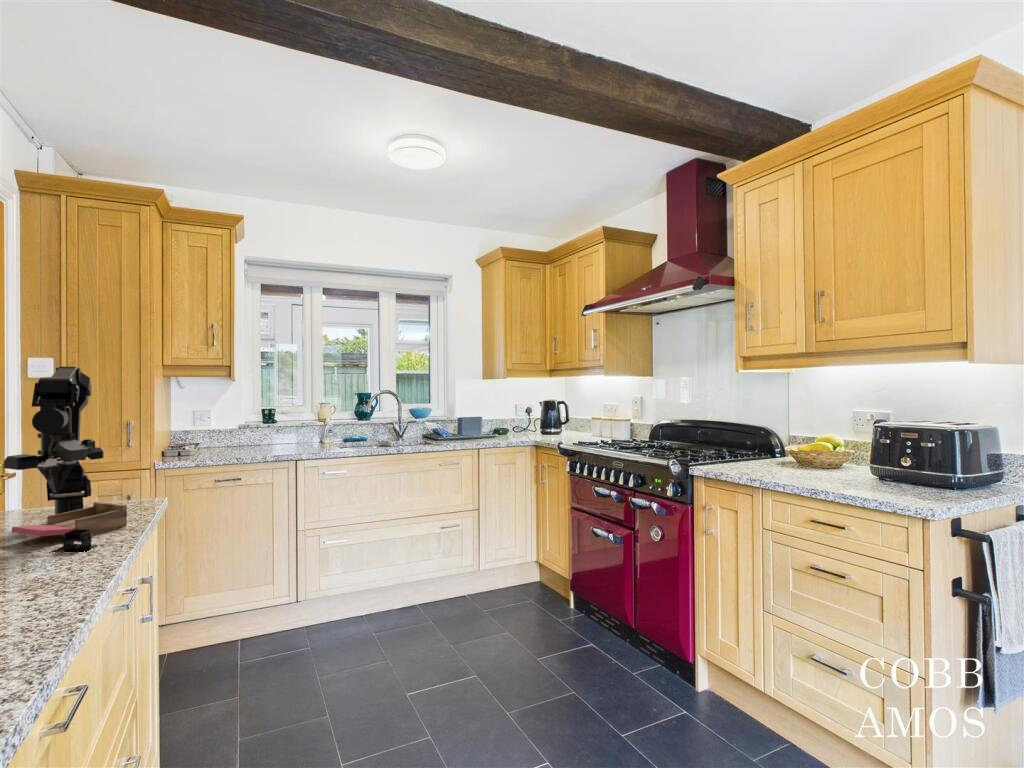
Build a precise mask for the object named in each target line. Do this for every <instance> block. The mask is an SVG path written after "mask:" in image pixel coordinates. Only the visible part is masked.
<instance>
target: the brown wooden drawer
mask: <svg viewBox="0 0 1024 768" xmlns="http://www.w3.org/2000/svg"><path fill="white" fill-rule="evenodd" d="M92 505H93V506H88V507H84V508H83V509H79V510H74V511H69V512H65V513H60V514H55V513H54V514H52V515H48V516H47V519H46V520H47V521H46V522H47V524H46V525H54V526H61V527H68V528H75V530H90V534H94V535H96V534H95V533H98V534H100V533H99V532H101V533H103V532H102V531H105V532H108V531H107V530H109V531H111V530H110V529H113V530H115V529H114V528H117V529H119V528H118V527H120V528H123V527H122V526H124V527H127V526H126V525H128V522H127V521H128V514H127V513H128V511H127V510H128V509H127V508H128V507H127V505H126V504H119V503H111V502H102V501H95V502H93V504H92ZM64 536H65V534H62V535H60V536H59V537H64Z"/></svg>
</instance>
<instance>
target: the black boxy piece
mask: <svg viewBox="0 0 1024 768" xmlns="http://www.w3.org/2000/svg"><path fill="white" fill-rule="evenodd" d="M62 537H63V538H62V540H63V541H62V542H63V543H62V546H60V547H61V548H60V547H59V549H58V548H56V549H57V550H55V549H53V550H54V551H53V550H51V552H52V553H51V552H50V551H48V552H49V553H48V554H56V553H57V554H63V553H62V552H84V551H85V552H87V551H89V550H91V549H92V548H94V547H97V546H98V545H99V544H92V535H91V534H90V530H72V531H70V532H67V533H65V537H64V536H62ZM75 542H77V543H75ZM53 552H55V553H53ZM59 552H60V553H59Z"/></svg>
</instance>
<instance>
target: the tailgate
mask: <svg viewBox="0 0 1024 768" xmlns="http://www.w3.org/2000/svg"><path fill="white" fill-rule="evenodd" d="M11 527H12V528H11V531H10V533H16V534H23V536H24V537H28V538H33V539H34V538H35V539H39V538H40V537H48V536H57V535H62V534H65V533H67V532H70V531H72V530H75V528H68V527H61V526H54V525H47V524H35V525H22V526H21V525H20V526H11Z"/></svg>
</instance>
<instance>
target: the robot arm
mask: <svg viewBox="0 0 1024 768" xmlns="http://www.w3.org/2000/svg"><path fill="white" fill-rule="evenodd" d="M81 371H82V370H81V367H78V366H63V365H62V366H59V367H56V368H55V372H54V373H53V374H52V375H51V376H49V377H47V376H46V377H45V376H44V377H40V378H39V379H38V381H36V382H35V383H34V388H33V395H32V400H31V401H32V402H31V407H32V408H35V407H38V408H39V407H40V410H39V411H37V412H36V413H35V414H34V415H33V416H32V419H31V425H32V426H33V428H34V429H35V430H36V431H38V432H39V433H37V438H38V439H40V445H41V446H40V450H39V449H38V450H37V455H36V454H35V455H34V454H29V453H27V454H26V453H24V454H14V455H7V456H6V457H5V459H4V461H3V469H8V470H15V471H16V470H17V471H23V470H29V469H38V471H39V472H40V474H41V475H42V476H43V477H44V479H45V480H46V495H47V502H48V501H54V515H55V514H60V513H65V512H69V511H74V510H79V509H83V508H85V507H84V498H88V497H91V496H92V484H91V479H90V478H89V477H88V474H86V470H85V469H84V467H83V466H82V465H81V463H80V461H86V460H87V458H88V459H89V460H99V459H101V460H102V459H104V458H105V457H104V455H105V453H104V450H103V449H102V447H96V441H95V439H93V438H87V439H83V440H80V439H81V421H82V420H81V419H82V418H81V417H82V412H83V410H84V409H85V408H86V407H87V405H89V397H91V396H92V394H93V393H92V389H93V388H92V382H91V378H90V376H88V375H86V374H84V373H83V372H81Z"/></svg>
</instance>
